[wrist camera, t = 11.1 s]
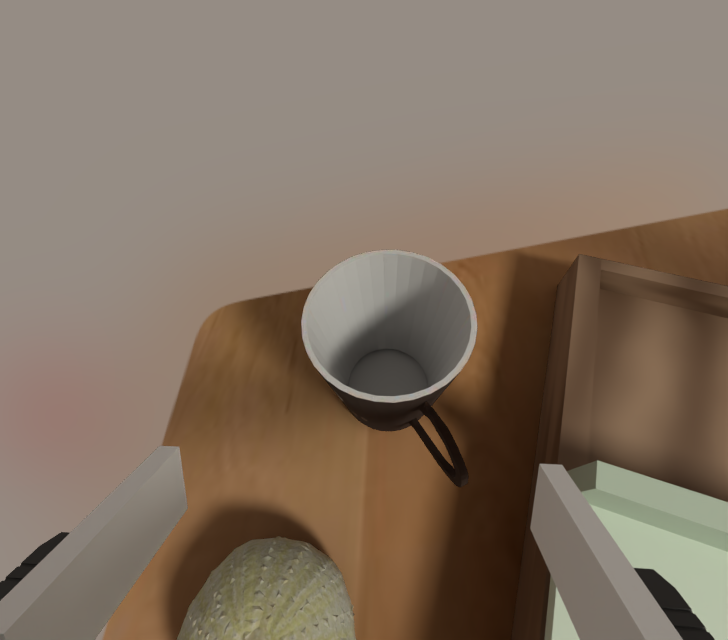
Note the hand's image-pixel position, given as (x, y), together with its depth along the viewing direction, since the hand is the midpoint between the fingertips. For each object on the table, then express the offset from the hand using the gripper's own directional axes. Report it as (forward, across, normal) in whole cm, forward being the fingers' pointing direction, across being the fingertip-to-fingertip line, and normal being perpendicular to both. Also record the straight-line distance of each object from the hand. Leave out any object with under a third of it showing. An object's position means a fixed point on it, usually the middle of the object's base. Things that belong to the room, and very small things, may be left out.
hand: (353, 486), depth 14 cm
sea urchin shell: (+4, -5, -13) cm, 14 cm away
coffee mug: (+13, +1, -4) cm, 13 cm away
